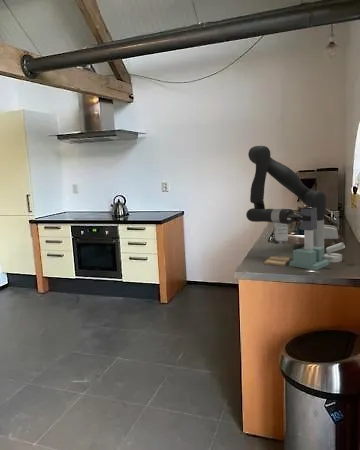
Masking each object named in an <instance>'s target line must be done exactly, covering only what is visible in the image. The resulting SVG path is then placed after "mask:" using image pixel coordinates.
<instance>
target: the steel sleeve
mask: <svg viewBox="0 0 360 450" xmlns="http://www.w3.org/2000/svg"><path fill="white" fill-rule="evenodd" d="M299 213H301V216H310V217H311V221H300V230H302V231H304V230H315V229H317V208H311V207H309V206H306V207H302V208H300V212H299Z"/></svg>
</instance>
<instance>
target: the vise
mask: <svg viewBox="0 0 360 450" xmlns="http://www.w3.org/2000/svg"><path fill="white" fill-rule="evenodd" d="M303 231H304V232H303V233H304V235H303V238H304V240H303V241H304V245H303V246H302V247H301V248H297V249H293V250H292V252H293V253H292V254H293V257H292V258H293V260H289V261H288V262H289V267H293V268H294V267H296V268H301V269H306V270H311V271H312V270H313V271H318V270H320V269H322V268H325V267H327V266H329V265H330V262H329V261H327V260H331V259H332V257H331V256H324V254H325V247H324V248H322V247H314V246H313V230H303ZM324 259H327V260H324Z"/></svg>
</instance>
